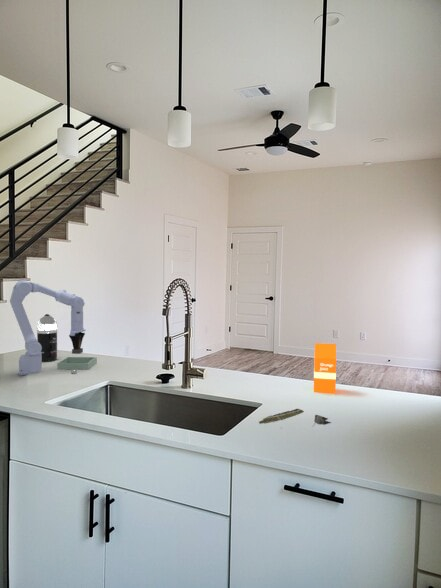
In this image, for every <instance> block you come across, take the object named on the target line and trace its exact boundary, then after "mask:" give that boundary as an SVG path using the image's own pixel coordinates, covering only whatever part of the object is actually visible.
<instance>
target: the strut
mask: <svg viewBox="0 0 441 588" xmlns="http://www.w3.org/2000/svg"><path fill="white" fill-rule="evenodd" d="M71 349H72V350H71V354H72V355H73V354H74V355H77V354H79V355H80V354H82V353H83V351H84V348H82V344H81V339H80V342H79V348H78V349H74V348H71Z"/></svg>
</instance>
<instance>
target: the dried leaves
mask: <svg viewBox="0 0 441 588" xmlns="http://www.w3.org/2000/svg"><path fill="white" fill-rule="evenodd" d="M304 412H305V411H304V410H303V409H300V408H295V409H292V410H286V411H282V412H279V413H276V414H273V415H269V416H266V417H264V418H262V420H260V421H258V423H259V425H260V424H261V425H262V424H269V423H275V422H279V421H284V420H286V419H289V418H292V417H296V416H298V415H301V414H302V413H304ZM328 419H329V418H328V417H324V416H322V415H319V414H315V415H314V425H312V427H314V426H315V425H316V424H317V425H323V426H326V425H329V424H331V423H332V422H331V421H327V420H328ZM280 429H283V427H280Z"/></svg>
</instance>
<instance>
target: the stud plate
mask: <svg viewBox="0 0 441 588" xmlns="http://www.w3.org/2000/svg"><path fill="white" fill-rule="evenodd" d="M70 371H71V372H70V373H71V375H77V372H78V371H77V370H76V369H72V370H70Z"/></svg>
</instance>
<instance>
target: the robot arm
mask: <svg viewBox="0 0 441 588" xmlns="http://www.w3.org/2000/svg"><path fill="white" fill-rule="evenodd" d="M30 293H40V294H44V295H46V296H49V297H53V298H54V300H55V301H56V302H58V303H61V304H63V305H66V306H70V332H69V335H68V336H69V339H70V341H71V343H72V347H73V348H72V349H78V348H79V342H80V339H81V345H82V343H83V340H84V337H85V335H86V331H87V330H86V329H84V306H85V301H84V299H83V297H81V296H80V297H79V296H78V295H76V294H74V293H73V294H71V293H70V292H67V290H66V289H63V290H61V289H60V290H58V291H57V290H54V289H52V288H49V287H47V286H45V285H43V284H39V283H36V282H32V281H27V280H23V279H22V280H21V279H20V280H18V281H17V282H16V283H15V285H14V286H13V288H12V292H11V296H10V299H9V303H10V305H11V308H12V311H13V313H14V315H15V319H16V321H17V324H18V326H19V329H20V331H21V334H22V336H23V340H24V342H25V344H24V347H25V350H26V352H25V353H24V354H21V355H19V359H18V374H17V375H19V376H28V375H30V374H37V373H41V372H42V370H43V369H42V368H43V366H42V363H43V361H42V353H40V352H41V350H42V346H41V344H40V343H39V342H38V341H37V336H35V332H34V330H33V329H32V325H31V323H30V319H29V318H28V315H27V312H26V309H25V308H24V305H23V301H24V300H25V298H26V297H27V296H28V295H29V294H30Z"/></svg>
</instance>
